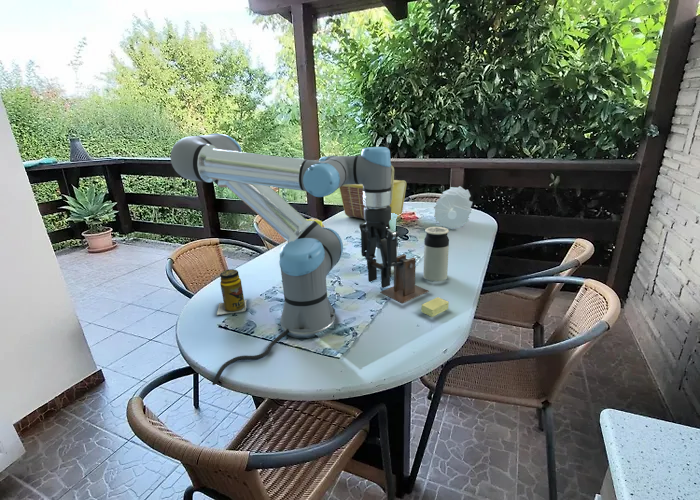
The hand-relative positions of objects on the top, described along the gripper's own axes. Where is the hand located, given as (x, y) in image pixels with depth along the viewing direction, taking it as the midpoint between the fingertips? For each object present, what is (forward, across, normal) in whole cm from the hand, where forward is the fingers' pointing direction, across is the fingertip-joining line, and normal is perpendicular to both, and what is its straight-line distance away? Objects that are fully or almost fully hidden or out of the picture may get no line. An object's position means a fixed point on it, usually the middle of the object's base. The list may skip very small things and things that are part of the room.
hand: (379, 283), depth 108 cm
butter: (+8, -14, -8) cm, 18 cm away
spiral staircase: (+8, +39, -86) cm, 94 cm away
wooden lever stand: (+8, 0, -11) cm, 13 cm away
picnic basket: (+8, +79, -67) cm, 104 cm away
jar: (+8, +19, -21) cm, 29 cm away
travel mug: (+8, +1, -27) cm, 28 cm away
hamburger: (+8, +63, -17) cm, 66 cm away
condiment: (+8, +30, +34) cm, 46 cm away
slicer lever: (-3, 0, -5) cm, 6 cm away
